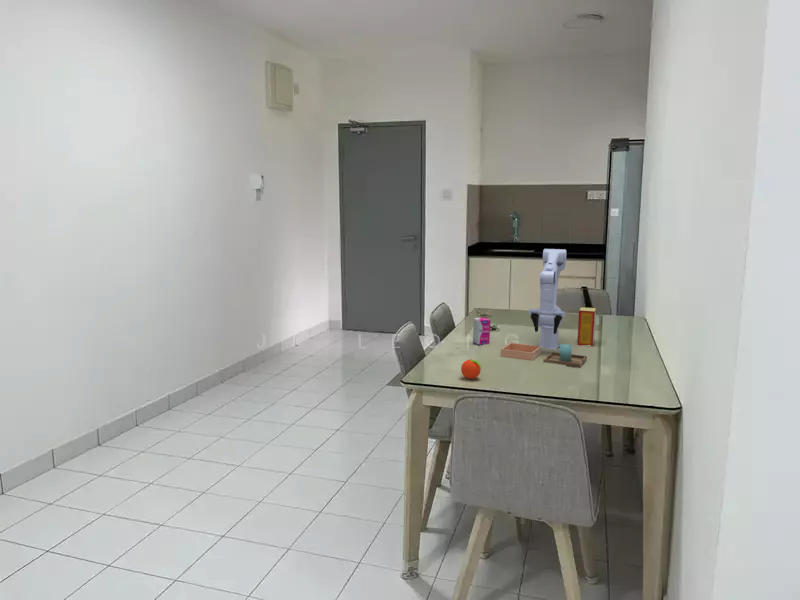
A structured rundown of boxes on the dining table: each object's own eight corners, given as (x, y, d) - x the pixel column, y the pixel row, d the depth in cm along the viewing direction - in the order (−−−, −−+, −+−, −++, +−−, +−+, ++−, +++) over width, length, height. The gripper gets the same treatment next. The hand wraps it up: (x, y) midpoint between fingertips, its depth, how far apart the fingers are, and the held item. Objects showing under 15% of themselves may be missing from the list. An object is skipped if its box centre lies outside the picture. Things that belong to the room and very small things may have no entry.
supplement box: (477, 345, 268) (478, 320, 266) (472, 342, 274) (473, 317, 272) (489, 345, 269) (490, 319, 268) (484, 342, 275) (485, 317, 273)
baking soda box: (579, 340, 279) (581, 306, 277) (594, 342, 277) (596, 307, 275) (577, 345, 271) (579, 309, 268) (592, 346, 268) (594, 310, 266)
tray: (551, 355, 251) (552, 352, 251) (586, 359, 245) (586, 356, 245) (543, 363, 239) (543, 359, 239) (579, 367, 233) (579, 364, 232)
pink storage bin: (510, 350, 259) (510, 342, 258) (541, 354, 253) (541, 346, 252) (500, 357, 247) (500, 349, 247) (532, 361, 241) (532, 353, 241)
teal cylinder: (560, 358, 245) (561, 343, 244) (572, 359, 243) (572, 344, 242) (558, 360, 241) (558, 346, 240) (569, 362, 239) (570, 347, 238)
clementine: (486, 379, 217) (487, 359, 216) (475, 383, 212) (476, 363, 211) (468, 374, 222) (468, 355, 221) (456, 378, 217) (457, 359, 216)
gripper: (527, 299, 249) (525, 332, 251) (562, 302, 242) (561, 336, 244) (531, 297, 255) (530, 329, 257) (566, 300, 248) (565, 333, 251)
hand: (545, 332), depth 251 cm, fingers open, 7 cm apart
